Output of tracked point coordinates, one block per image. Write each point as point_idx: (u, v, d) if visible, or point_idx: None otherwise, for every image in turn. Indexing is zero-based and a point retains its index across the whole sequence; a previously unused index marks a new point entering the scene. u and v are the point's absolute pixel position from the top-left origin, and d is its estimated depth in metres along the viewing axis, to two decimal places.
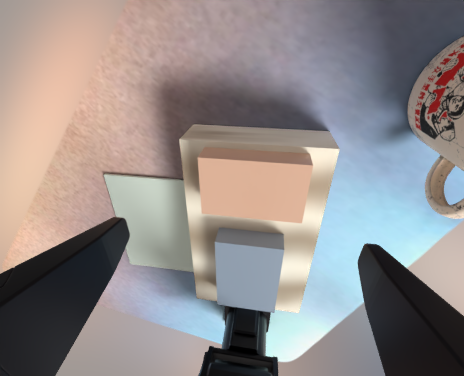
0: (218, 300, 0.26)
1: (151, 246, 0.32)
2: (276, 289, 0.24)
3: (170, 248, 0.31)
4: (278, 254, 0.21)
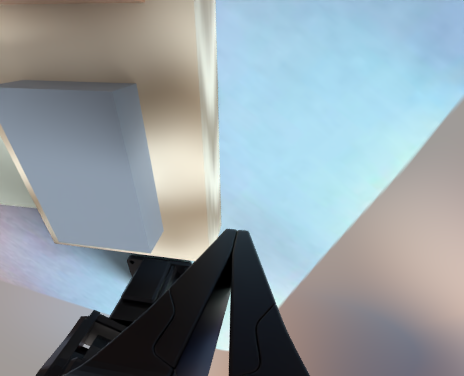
0: (56, 233, 0.15)
1: None
2: (135, 200, 0.13)
3: None
4: (106, 106, 0.10)
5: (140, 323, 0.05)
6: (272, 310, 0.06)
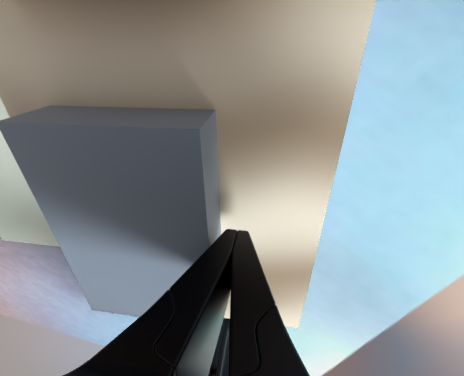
0: (89, 300, 0.11)
1: (22, 204, 0.17)
2: None
3: None
4: (185, 150, 0.07)
5: (140, 323, 0.05)
6: (272, 310, 0.06)
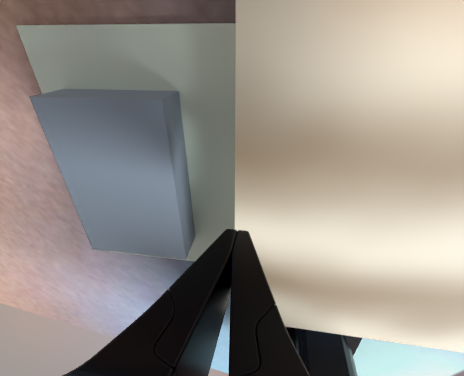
0: None
1: None
2: None
3: None
4: None
5: (140, 323, 0.05)
6: (272, 310, 0.06)
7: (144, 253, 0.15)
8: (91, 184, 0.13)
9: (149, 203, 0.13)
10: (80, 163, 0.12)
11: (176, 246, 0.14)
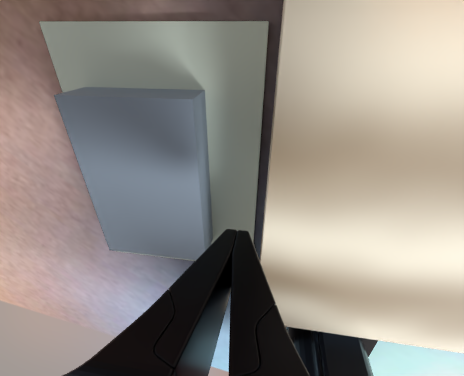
0: None
1: None
2: None
3: None
4: None
5: (140, 323, 0.05)
6: (272, 310, 0.06)
7: (163, 254, 0.15)
8: (112, 184, 0.12)
9: (171, 204, 0.12)
10: (103, 163, 0.12)
11: (196, 248, 0.14)
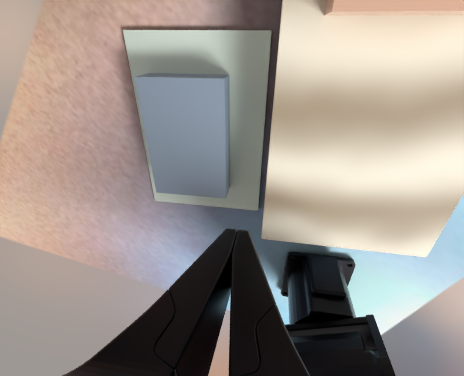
0: (228, 178, 0.21)
1: None
2: None
3: None
4: None
5: (140, 323, 0.05)
6: (272, 310, 0.06)
7: (195, 194, 0.20)
8: (165, 139, 0.18)
9: (205, 153, 0.18)
10: (160, 123, 0.18)
11: (220, 187, 0.20)
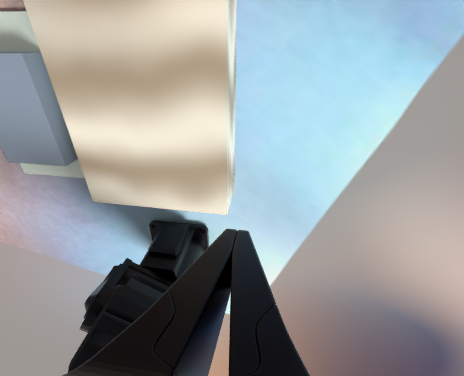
0: None
1: None
2: None
3: None
4: None
5: (140, 323, 0.05)
6: (272, 310, 0.06)
7: (40, 163, 0.23)
8: None
9: (33, 123, 0.21)
10: None
11: (57, 156, 0.22)
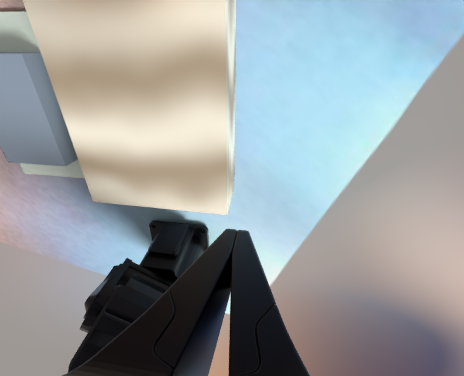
0: None
1: None
2: None
3: None
4: None
5: (140, 323, 0.05)
6: (272, 310, 0.06)
7: (40, 163, 0.23)
8: None
9: (32, 123, 0.21)
10: None
11: (57, 156, 0.22)
